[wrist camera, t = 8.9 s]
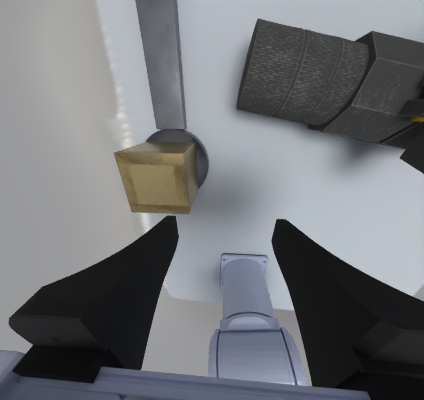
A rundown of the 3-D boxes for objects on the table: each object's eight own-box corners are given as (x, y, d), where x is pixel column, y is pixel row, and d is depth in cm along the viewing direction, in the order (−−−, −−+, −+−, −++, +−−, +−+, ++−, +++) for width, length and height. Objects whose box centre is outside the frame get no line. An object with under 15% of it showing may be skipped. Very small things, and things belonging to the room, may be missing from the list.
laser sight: (257, 7, 13) (329, -223, 4) (501, 64, 14) (997, -28, 5) (230, 130, 18) (236, 145, 9) (412, 168, 18) (585, 216, 10)
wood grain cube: (198, 187, 19) (189, 214, 14) (156, 186, 20) (131, 212, 14) (195, 141, 17) (183, 153, 12) (147, 141, 17) (113, 152, 12)
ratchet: (209, 191, 21) (205, 208, 17) (153, 189, 22) (137, 206, 18) (204, -92, 11) (193, -216, 7) (96, -82, 11) (25, -193, 7)
